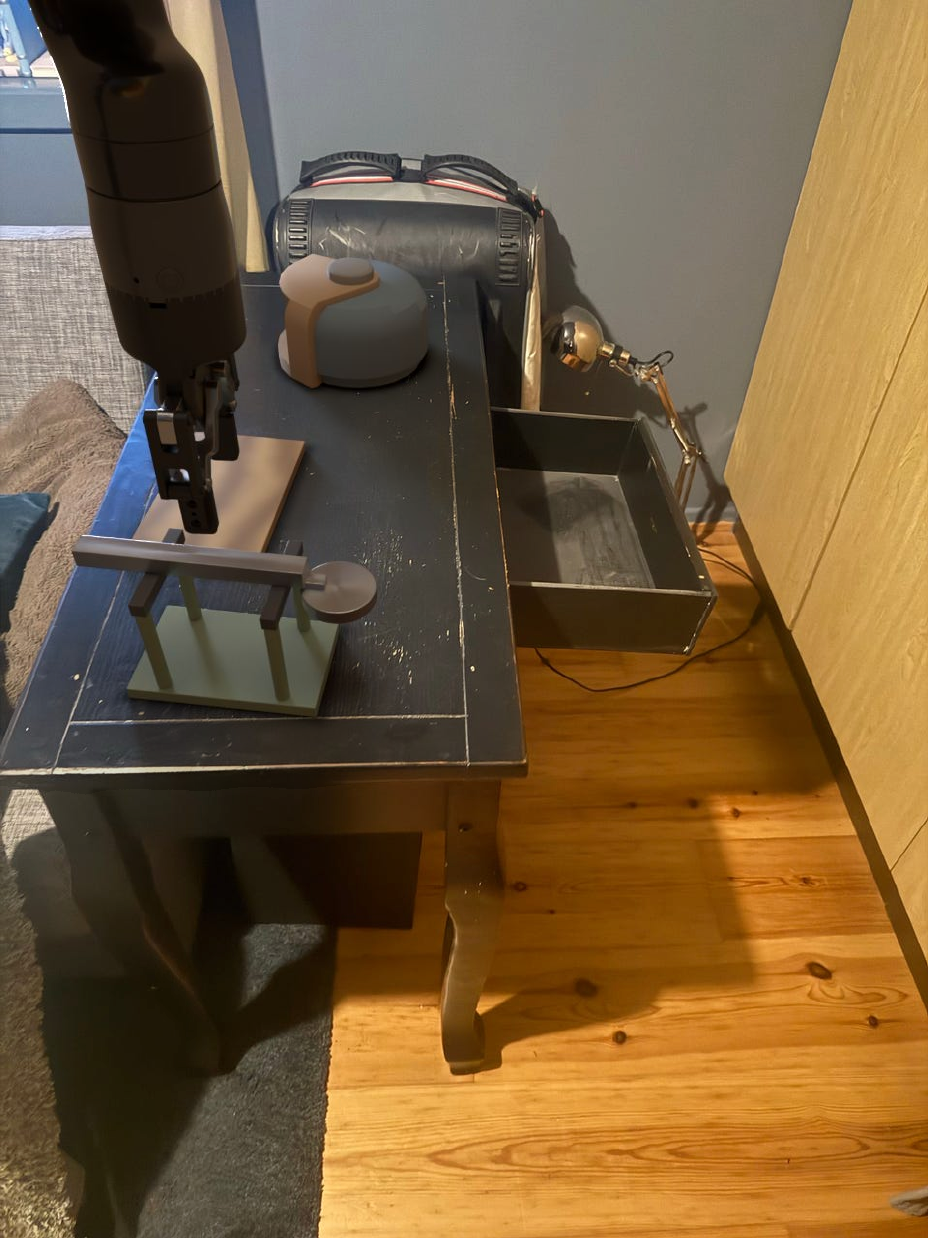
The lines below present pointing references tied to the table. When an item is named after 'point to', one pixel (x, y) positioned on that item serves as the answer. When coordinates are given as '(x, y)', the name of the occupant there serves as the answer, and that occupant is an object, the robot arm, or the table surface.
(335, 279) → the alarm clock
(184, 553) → the ladle
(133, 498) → the table surface
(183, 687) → the rack
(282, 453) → the board
